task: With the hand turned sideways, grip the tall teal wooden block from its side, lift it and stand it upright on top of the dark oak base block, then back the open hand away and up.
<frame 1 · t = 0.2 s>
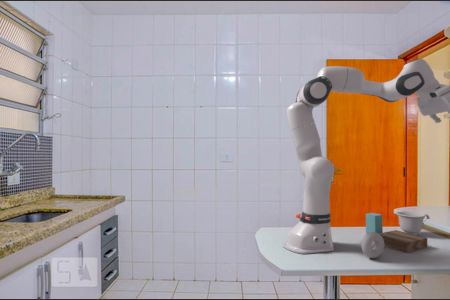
hand: (446, 121, 127), 54 cm above the table, tool tilted 30°, fingers open, 8 cm apart
oak base: (400, 245, 128), on the table
teal block: (374, 237, 140), on the table
donut: (373, 258, 113), on the table
teacup: (413, 234, 145), on the table
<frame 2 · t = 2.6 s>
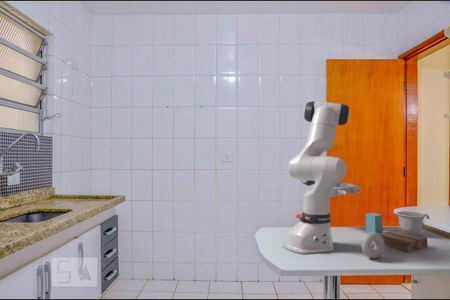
hand: (353, 192, 151), 20 cm above the table, tool horizontal, fingers open, 8 cm apart
nothing on the table moved.
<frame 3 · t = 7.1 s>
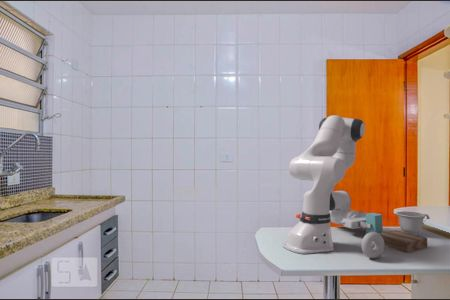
hand: (375, 225, 139), 6 cm above the table, tool horizontal, fingers closed on teal block, 5 cm apart
teal block: (374, 237, 140), on the table, touching gripper
everything else where it was.
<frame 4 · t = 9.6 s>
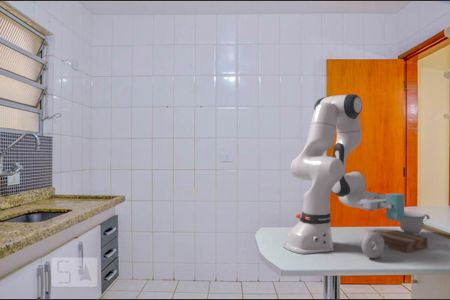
hand: (396, 205, 130), 17 cm above the table, tool horizontal, fingers closed on teal block, 5 cm apart
teal block: (395, 219, 130), point 11 cm above the table, touching gripper
everything else where it was.
when the fingers open (11 cm above the table, at t = 12.0 s): teal block drops 1 cm, resting on oak base.
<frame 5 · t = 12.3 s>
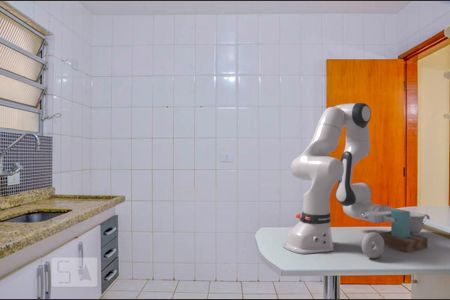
hand: (402, 219, 127), 11 cm above the table, tool horizontal, fingers open, 8 cm apart
teal block: (400, 236, 128), point 4 cm above the table, touching oak base
everything else where it was.
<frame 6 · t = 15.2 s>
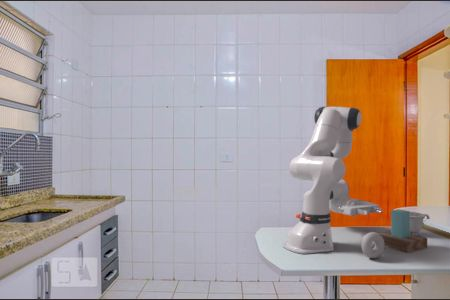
hand: (374, 211, 139), 12 cm above the table, tool horizontal, fingers open, 8 cm apart
nothing on the table moved.
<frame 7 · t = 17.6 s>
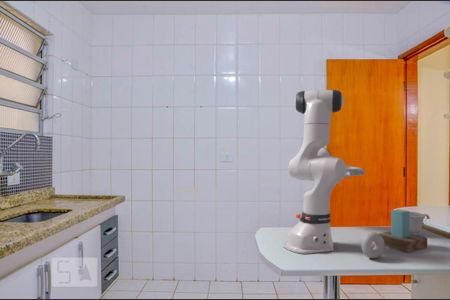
hand: (357, 173, 148), 30 cm above the table, tool horizontal, fingers open, 8 cm apart
nothing on the table moved.
at the end: teal block inside the target area on the oak base (0.1 cm from its centre), point 4.0 cm above the oak base's base; teal block tilted 0°; the gripper is holding nothing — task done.
